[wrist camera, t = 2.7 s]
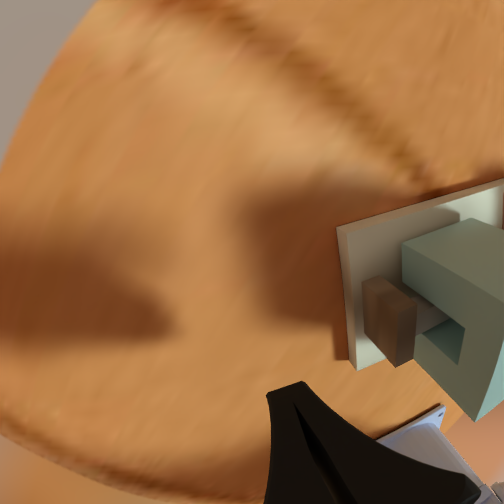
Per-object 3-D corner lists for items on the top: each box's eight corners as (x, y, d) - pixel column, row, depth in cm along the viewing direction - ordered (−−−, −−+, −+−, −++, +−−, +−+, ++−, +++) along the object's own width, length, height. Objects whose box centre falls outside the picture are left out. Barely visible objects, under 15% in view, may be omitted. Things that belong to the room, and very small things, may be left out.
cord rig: (527, 265, 19) (580, 293, 14) (349, 360, 17) (403, 434, 12) (534, 169, 16) (596, 186, 11) (336, 227, 14) (421, 281, 9)
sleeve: (463, 312, 16) (537, 368, 10) (400, 345, 16) (474, 422, 10) (471, 217, 14) (569, 259, 8) (401, 242, 13) (511, 307, 7)
